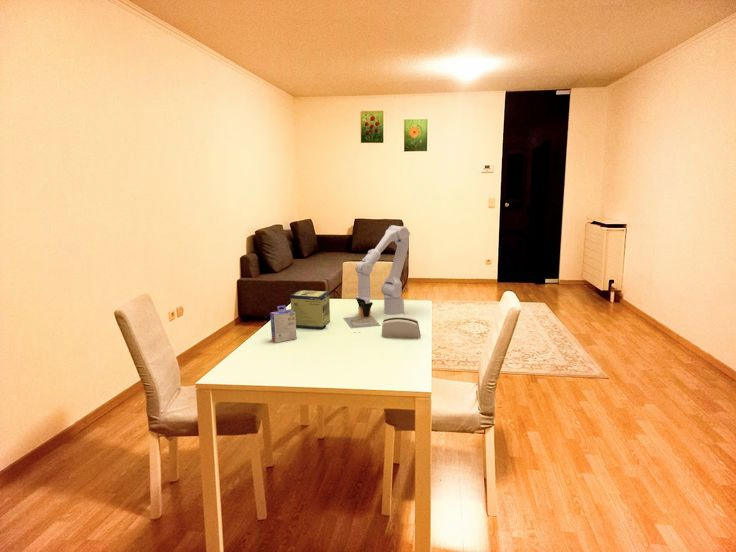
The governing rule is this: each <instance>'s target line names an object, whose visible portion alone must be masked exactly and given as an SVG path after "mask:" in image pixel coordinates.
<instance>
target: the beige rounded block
mask: <svg viewBox="0 0 736 552" xmlns="http://www.w3.org/2000/svg"><path fill="white" fill-rule="evenodd" d="M381 324H382V325H381V337H392V338H393V337H397V338H416V339H417V338H418V339H420V337H421V330H420V326H419V321H418V320H417V319H415V318H412V317H410V316H409V317H408V316H401V315H399V316H389V317H386V318H383V320H382V323H381Z"/></svg>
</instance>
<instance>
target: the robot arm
mask: <svg viewBox="0 0 736 552" xmlns="http://www.w3.org/2000/svg"><path fill="white" fill-rule="evenodd" d="M410 234H411V233H410V231H409V229H408V227H406V226H403V225H402V226H399V225H394V224H392V225H390V226H389V227H388V228H387V229H386V230H385V233H384V234H383V235H384V236H383V237H382V238H381V239H380V241H379V243H377V245H376V246H375V248H371V249H369V250H368V251H367V254H366V255H365V256H364V257H363V258H362V259H361V261H359V262H358V263H357V264H356V266H355V268H354V269H355V272H356V274H357V295H356V296H355V300H356V302H357V305H358V307H360V306H362V309H363V315H364V317H369V313H370V309H371V308H372V306H373V305H374V303H373V302H372V301H371V273H372V272H373V270H374V266H375V264H376V263H378V261H379V259H381V253H382V252H384V250H385V249H386V248H387V247H388V245H390V243H391V242H394V243H395V245H396V250H395V253H394V257H393V260H392V264H391V268H390V271H389V275H388V277H386V278H385V279H384V281H383V284H382V285H381V287H380V292H381V293H382V295H383V302H384V303H383V308H384V309H383V310H384V311H383V312H384V314H385V315H387V316H388V315H390V316H393V315H394V316H395V315H400V314H401V315H402V314H403V315H405V301H404V297H403V296H401V295H402V292H403V291H402V290H403V289H402V286H403V283H402V281H401V276H402V272H403V269H404V266H405V261H406V258H407V253H408V250H409V246H410V240H409V239H410Z"/></svg>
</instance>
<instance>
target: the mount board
mask: <svg viewBox="0 0 736 552" xmlns="http://www.w3.org/2000/svg"><path fill="white" fill-rule="evenodd" d="M371 317H373V316H372V315H371ZM342 319H343V320H344V321H345V323H346V324H347V325H348V327H349V328H350V329H359V328H360V329H361V328H372V327H382V325H381V324H380V323H379V322H378V321H377V320H376V319H375V318H374V317H373V319H374V321H377V325H371V326H360V327H353V326H352V325H351V323H350V319H359V316H351V317H350V316H348V317H343V318H342Z"/></svg>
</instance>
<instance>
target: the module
mask: <svg viewBox="0 0 736 552" xmlns="http://www.w3.org/2000/svg"><path fill="white" fill-rule="evenodd" d="M357 311H358V316H357V317H359V318H371V316H372V314H371V313H372V312H371V309H370V313H369V317H364V315H363V309H362V306H360V307H359V306H358V310H357Z"/></svg>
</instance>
